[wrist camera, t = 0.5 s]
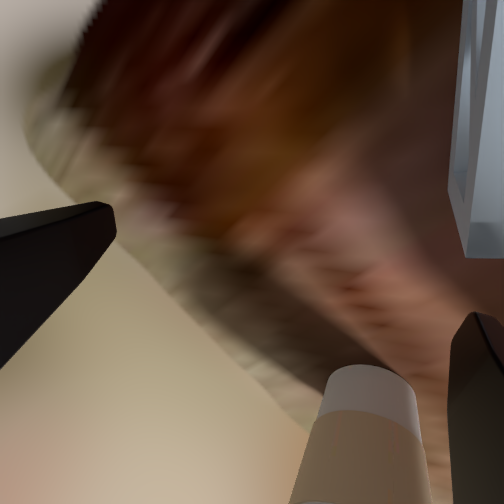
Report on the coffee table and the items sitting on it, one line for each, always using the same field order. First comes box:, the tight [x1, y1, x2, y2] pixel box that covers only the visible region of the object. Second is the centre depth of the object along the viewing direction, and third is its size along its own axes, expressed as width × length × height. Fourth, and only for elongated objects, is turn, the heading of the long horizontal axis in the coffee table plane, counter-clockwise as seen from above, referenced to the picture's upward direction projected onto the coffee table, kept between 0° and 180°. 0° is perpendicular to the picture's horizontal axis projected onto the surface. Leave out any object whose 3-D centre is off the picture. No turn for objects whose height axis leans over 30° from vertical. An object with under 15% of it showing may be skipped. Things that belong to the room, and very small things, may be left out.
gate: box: [448, 0, 504, 259], centre depth 11 cm, size 11×1×6 cm, turn 13°
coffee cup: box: [289, 364, 433, 504], centre depth 22 cm, size 9×9×15 cm
